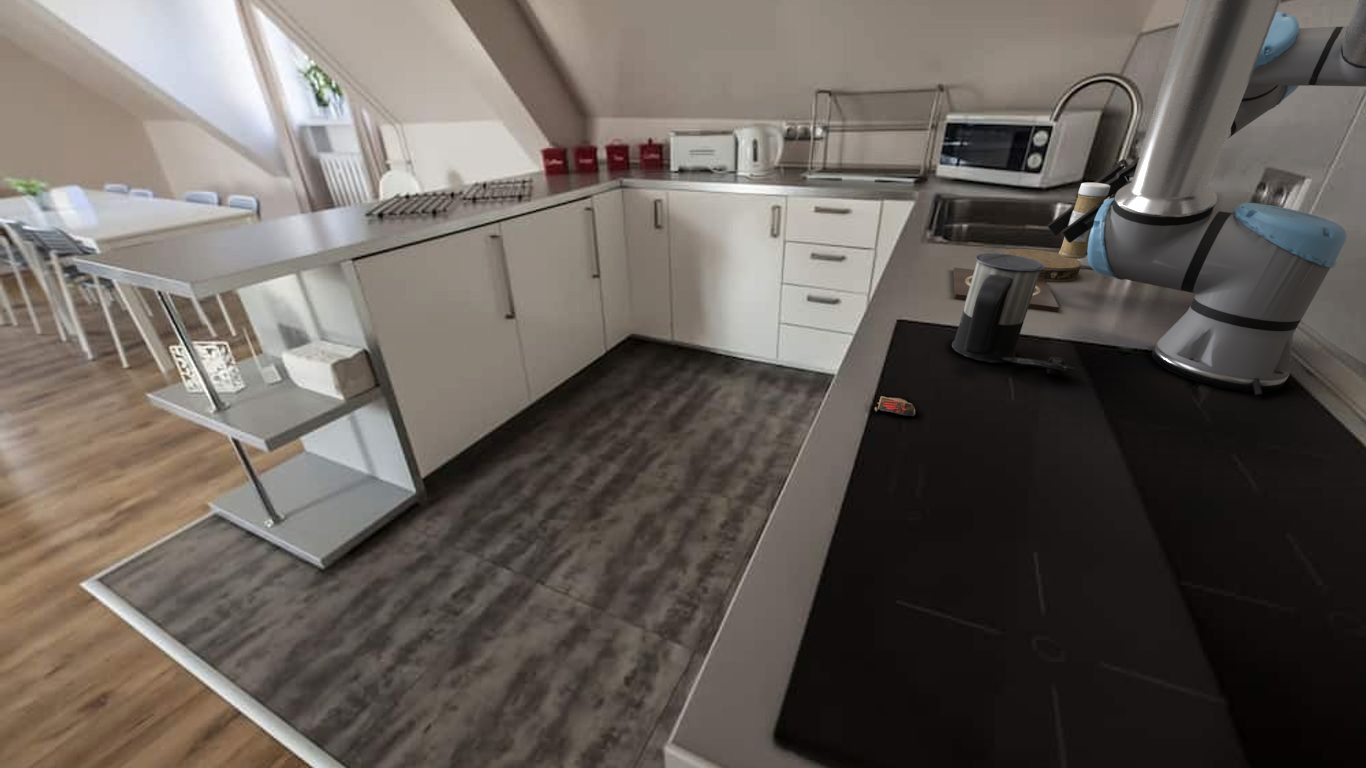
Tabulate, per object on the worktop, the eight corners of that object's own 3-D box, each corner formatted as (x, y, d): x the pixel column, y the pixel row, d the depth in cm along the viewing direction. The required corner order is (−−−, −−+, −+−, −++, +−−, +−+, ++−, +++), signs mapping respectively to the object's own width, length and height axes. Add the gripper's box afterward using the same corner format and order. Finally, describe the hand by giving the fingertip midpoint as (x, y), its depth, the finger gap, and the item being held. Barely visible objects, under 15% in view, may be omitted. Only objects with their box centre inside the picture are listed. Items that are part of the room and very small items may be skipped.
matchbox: (917, 418, 71) (918, 414, 70) (876, 414, 71) (876, 411, 71) (910, 400, 75) (910, 396, 74) (870, 396, 75) (871, 393, 75)
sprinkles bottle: (1090, 257, 108) (1116, 184, 101) (1075, 260, 106) (1101, 186, 99) (1067, 252, 111) (1091, 181, 105) (1052, 254, 109) (1076, 182, 103)
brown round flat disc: (986, 260, 136) (990, 248, 135) (1052, 262, 136) (1056, 249, 134) (1018, 280, 122) (1022, 267, 121) (1092, 282, 122) (1097, 269, 120)
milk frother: (950, 336, 94) (973, 249, 87) (1056, 351, 89) (1089, 260, 82) (953, 371, 83) (980, 274, 76) (1075, 391, 78) (1116, 289, 71)
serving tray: (1057, 312, 105) (1059, 306, 105) (954, 298, 111) (956, 293, 111) (1042, 282, 122) (1044, 277, 121) (953, 271, 128) (954, 266, 127)
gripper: (1234, 164, 91) (1094, 260, 100) (1160, 152, 107) (1044, 237, 115) (1215, 128, 89) (1074, 230, 98) (1143, 121, 105) (1026, 210, 113)
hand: (1058, 233), depth 107 cm, fingers closed on sprinkles bottle, 4 cm apart
